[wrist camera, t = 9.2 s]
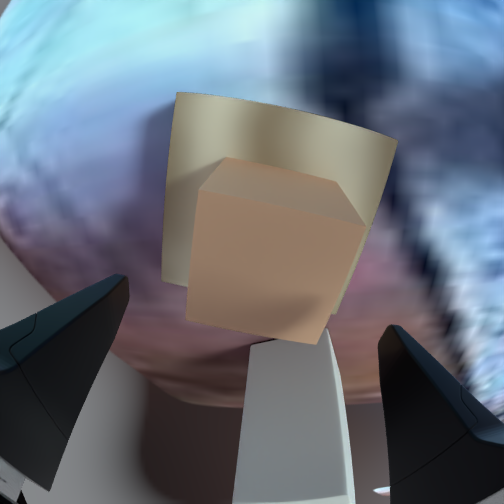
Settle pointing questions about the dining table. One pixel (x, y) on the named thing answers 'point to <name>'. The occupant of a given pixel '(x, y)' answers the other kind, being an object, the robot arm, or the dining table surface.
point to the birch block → (263, 162)
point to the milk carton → (294, 427)
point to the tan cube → (270, 251)
